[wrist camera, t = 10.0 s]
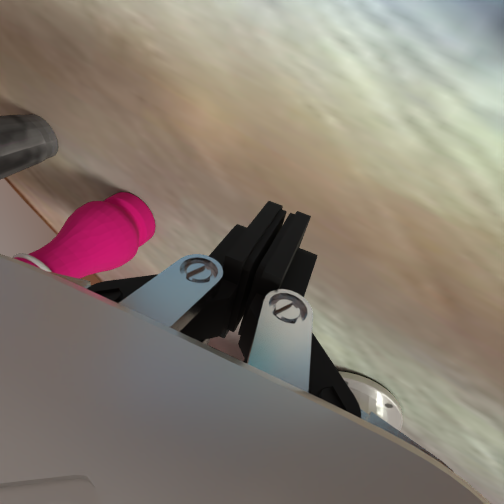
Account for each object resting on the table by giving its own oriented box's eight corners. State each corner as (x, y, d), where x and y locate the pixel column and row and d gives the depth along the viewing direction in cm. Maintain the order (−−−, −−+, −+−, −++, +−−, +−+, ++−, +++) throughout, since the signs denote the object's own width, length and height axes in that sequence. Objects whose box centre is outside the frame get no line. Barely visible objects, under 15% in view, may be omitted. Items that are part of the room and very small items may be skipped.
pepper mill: (141, 253, 38) (-31, 393, 22) (98, 210, 37) (-118, 326, 21) (170, 224, 34) (-17, 372, 18) (123, 174, 32) (-124, 287, 17)
